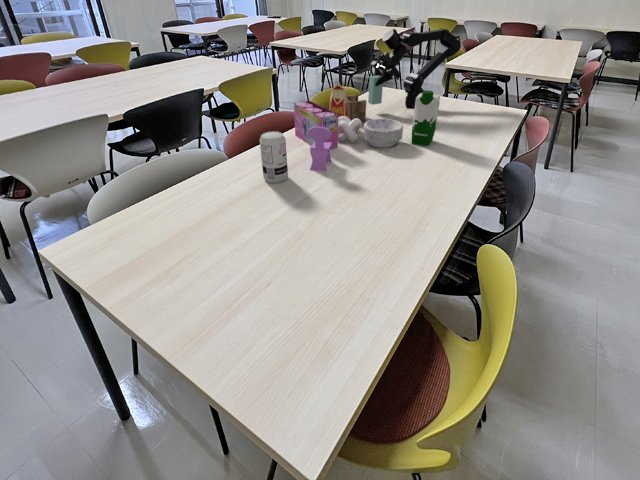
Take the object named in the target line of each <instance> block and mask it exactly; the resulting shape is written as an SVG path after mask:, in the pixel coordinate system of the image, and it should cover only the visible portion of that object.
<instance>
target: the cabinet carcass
mask: <svg viewBox="0 0 640 480" xmlns="http://www.w3.org/2000/svg"><path fill="white" fill-rule="evenodd" d="M347 101H348V112H349V119H350V120H351V121H352V120H353V119H355V118H358V119H360V120H361V123H366V116H367V100H366V99H363V100H359V95H358V94H349V95H347Z"/></svg>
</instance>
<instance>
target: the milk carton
mask: <svg viewBox="0 0 640 480" xmlns="http://www.w3.org/2000/svg"><path fill="white" fill-rule="evenodd" d="M347 96H348V94H347V89H346V88H345V87H343V86H342V85H341V84H340V82H339V81H338V82H337V84H336V86H335V87H333V88H332V89H331V94H330V99H329V104H328V106H329V107H328V110H331V111H333V112H335V113H337V114H338V118H339V117H341V116H346V117H348V118H349V112H348V101H347ZM339 133H340V130H339Z"/></svg>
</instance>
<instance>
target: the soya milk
mask: <svg viewBox="0 0 640 480" xmlns="http://www.w3.org/2000/svg"><path fill="white" fill-rule="evenodd" d="M440 99H441V94H434V91H432V90H424V91H423V92H422V93H420V94H419V95H418V96H417V97H416V102H415V108H413V117H412V127H411V141H410V142H411V143H410V144H411V145H419V146H426V147H429V146H430V145H431V143H432V141H433V139H434V136H435V133H436V128H437V122H438V117H439V109H440V101H441V100H440Z"/></svg>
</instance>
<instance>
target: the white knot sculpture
mask: <svg viewBox="0 0 640 480" xmlns="http://www.w3.org/2000/svg"><path fill="white" fill-rule="evenodd" d="M361 126H362V122H361V120H360V119H358V118H355V119H353V120H352V121H351V120H350V119H349V118H348V117H346V116H341V117H339V118H338V142H339V143H342V142H345V141H346V140H349V141H350V142H351V143H353V144H354V143H357V141H358V135H357V133H358V131H360V129H361ZM339 130H340V132H339Z"/></svg>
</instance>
